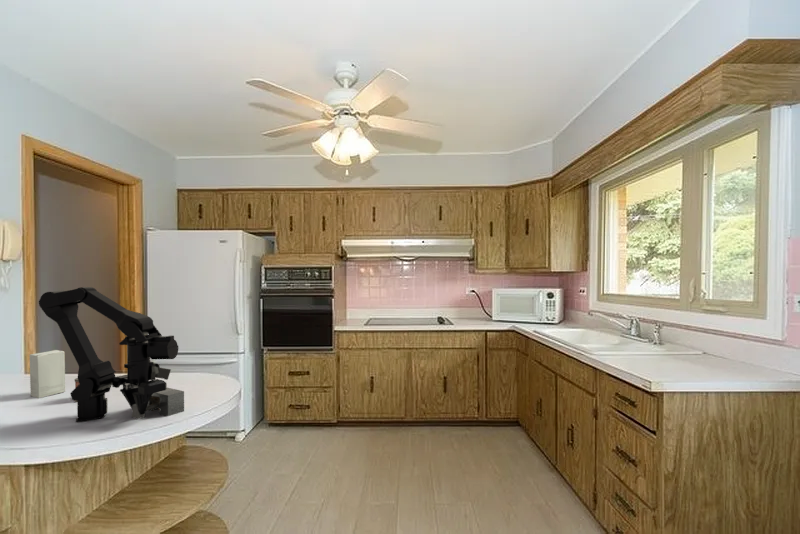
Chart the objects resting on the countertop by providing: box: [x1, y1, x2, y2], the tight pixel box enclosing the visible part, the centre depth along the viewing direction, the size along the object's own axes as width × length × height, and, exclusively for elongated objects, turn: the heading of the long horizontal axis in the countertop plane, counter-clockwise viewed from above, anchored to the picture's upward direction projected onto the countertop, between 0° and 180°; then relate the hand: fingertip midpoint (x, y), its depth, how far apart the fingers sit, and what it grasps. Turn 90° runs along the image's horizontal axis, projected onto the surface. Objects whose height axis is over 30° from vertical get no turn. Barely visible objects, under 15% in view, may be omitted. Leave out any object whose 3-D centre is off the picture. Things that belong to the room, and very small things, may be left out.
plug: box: [131, 403, 160, 420], centre depth 127 cm, size 14×3×4 cm, turn 149°
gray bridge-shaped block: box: [147, 387, 185, 417], centre depth 128 cm, size 5×14×6 cm, turn 60°
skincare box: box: [29, 349, 66, 399], centre depth 148 cm, size 8×6×15 cm
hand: (139, 413), depth 122 cm, fingers closed on plug, 3 cm apart
